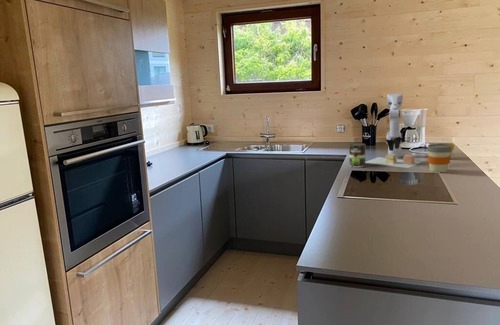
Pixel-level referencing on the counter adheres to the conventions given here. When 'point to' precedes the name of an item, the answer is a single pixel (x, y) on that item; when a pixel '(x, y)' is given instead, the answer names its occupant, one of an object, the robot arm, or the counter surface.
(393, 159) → the maple block
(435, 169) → the reusable coffee cup
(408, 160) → the terracotta block
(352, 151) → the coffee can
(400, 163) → the pale blue flat sheet
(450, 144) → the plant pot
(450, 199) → the counter surface
